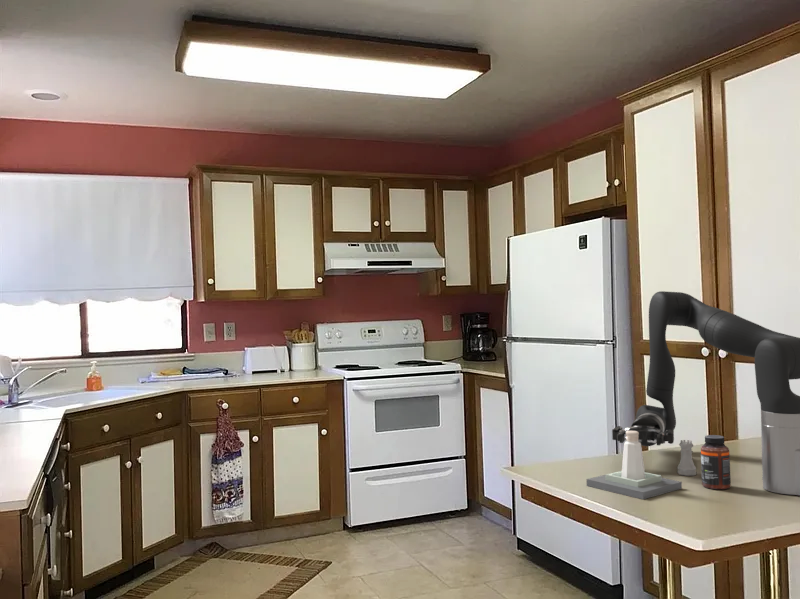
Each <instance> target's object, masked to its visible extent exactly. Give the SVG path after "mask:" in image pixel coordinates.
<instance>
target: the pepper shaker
mask: <svg viewBox="0 0 800 599" xmlns="http://www.w3.org/2000/svg"><path fill="white" fill-rule="evenodd" d="M626 435H627V436H626ZM638 435H639V432H637V431H626V434H625V437H626V438H627V441H624V442H623V449H622V450H623V453H622V463H621V471H622V474H621V477H623V478H628V479H633V480H641V479H645V472H646V471H645V464H644V458H643V457H644V455H643V449H642V448H643V447H642V445H641V443H640V442H638V441H639V440H638V438H639V436H638Z"/></svg>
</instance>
